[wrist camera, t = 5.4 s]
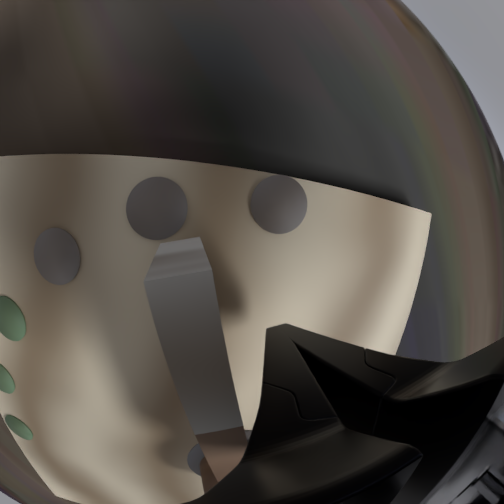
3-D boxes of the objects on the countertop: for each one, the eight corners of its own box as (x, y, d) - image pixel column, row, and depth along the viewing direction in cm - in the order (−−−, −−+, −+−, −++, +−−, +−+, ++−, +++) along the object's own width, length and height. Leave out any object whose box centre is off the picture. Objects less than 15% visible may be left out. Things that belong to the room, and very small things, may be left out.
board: (415, 211, 12) (433, 213, 11) (309, 491, 16) (314, 501, 15) (-27, 162, 6) (-44, 160, 5) (57, 485, 11) (55, 496, 9)
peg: (275, 470, 12) (297, 519, 8) (209, 484, 11) (221, 536, 7) (243, 227, 9) (289, 255, 5) (119, 249, 8) (73, 293, 4)
